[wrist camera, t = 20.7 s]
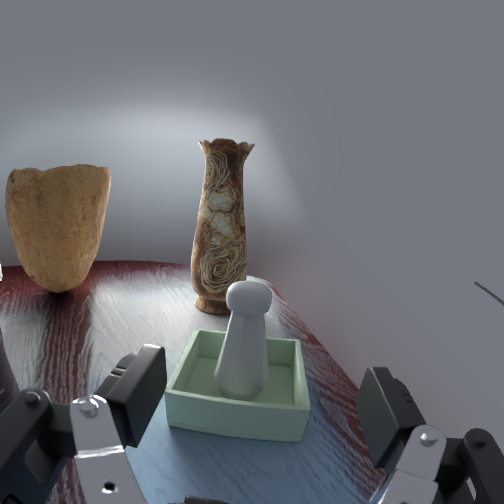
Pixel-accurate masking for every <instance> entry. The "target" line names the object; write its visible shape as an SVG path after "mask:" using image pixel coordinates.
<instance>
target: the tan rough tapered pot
mask: <svg viewBox="0 0 504 504" xmlns="http://www.w3.org/2000/svg"><path fill="white" fill-rule="evenodd" d="M110 183H111V173H110V169H109V168H108V167H96V166H92V165H84V164H83V165H82V164H78V165H73V166H61V167H56V168H52V169H48V170H46V171H40V170H38V169H35V168H25V169H14V170H13V171H12V172H11V173H10V175H9V177H8V181H7V187H6V206H5V207H6V214H7V221H8V226H9V229H10V234H11V238H12V241H13V244H14V247H15V250H16V253H17V256H18V259H19V261H20V263H21V265H22V266H23V268H24V270H25V271H26V273H27V274H28V276H29V277H30V278H31V279H32V280H33V281H34V282H35V283H37V284H38V285H40V286H42V287H43V288H45V289H46V290H49V291H52V292H56V293H62V292H64V291H68V290H71V289H74V288H76V287H78V286H79V285H80V284H81V283H82V282H83V281H84V280H85V278H86V277H87V274H88V272H89V270H90V267H91V265H92V262H93V260H94V258H95V257H96V253H97V251H98V248H99V246H100V241H101V237H102V231H103V226H104V217H105V212H106V206H107V202H108V196H109V189H110Z"/></svg>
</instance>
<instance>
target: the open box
mask: <svg viewBox="0 0 504 504" xmlns="http://www.w3.org/2000/svg"><path fill="white" fill-rule="evenodd" d="M225 335H226V332H223V331H216V330H208V329H202V328H196V329H195V331H194V333H193V335H192V337H191V339H190V341H189V343H188V345H187V347H186V349H185V351H184V353H183V355H182V357H181V359H180V361H179V363H178V365H177V367H176V369H175V371H174V373H173V375H172V377H171V379H170V381H169V383H168V385H167V387H166V389H165V392H164V395H165V405H166V414H167V422H168V425H169V426H174V427H178V428H183V429H188V430H193V431H199V432H205V433H211V434H217V435H224V436H231V437H239V438H248V439H259V440H271V441H289V442H300V441H301V439H302V436H303V433H304V430H305V427H306V424H307V420H308V417H309V414H310V411H311V409H310V401H309V395H308V388H307V382H306V375H305V369H304V362H303V356H302V350H301V344H300V340H299V339H287V338H276V337H266V348H267V362H268V376H269V377H268V381H267V384H266V387H265V388H264V389H263V390H262V391H261V392H260V393H259V394H258V395H257V396H256V397H255V398H254V400H253V401H252V402H248V401H239V400H231V399H227V398H225V397H223V396H222V394H221V392H220V390H219V388H218V386H217V383H216V380H215V375H214V373H215V370H216V366H217V363H218V359H219V356H220V352H221V349H222V345H223V342H224V338H225Z"/></svg>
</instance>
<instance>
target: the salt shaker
mask: <svg viewBox="0 0 504 504" xmlns="http://www.w3.org/2000/svg"><path fill="white" fill-rule="evenodd" d="M271 301H272V292H271V291H270V290H269V289H268V287H267V286H266V285H263V284H261V283H258V282H253V281H238V282H235V283H233V284H232V285H230V287H229V288H228V290H227V294H226V304H227V306H228V308H229V309H230V310H231V311H232V312H231V316H230V320H229V324H228V328H227V331H226V335H225V338H224V342H223V345H222V349H221V352H220V356H219V359H218V363H217V366H216V370H215V373H214V375H215V380H216V383H217V386H218V388H219V390H220V392H221V394H222V396H223V397H225V398H227V399H231V400H239V401H248V402H252V401H253V400H254V398H255V397H256V396H257V395H258V394H259V393H260V392H261V391H262V390H263V389H264V388H265V387H266V384H267V381H268V377H269V376H268V362H267V348H266V334H265V320H264V313H266V312H268V310H269V309H270V305H271Z"/></svg>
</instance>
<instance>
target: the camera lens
mask: <svg viewBox="0 0 504 504" xmlns="http://www.w3.org/2000/svg"><path fill="white" fill-rule="evenodd" d="M19 393H20V389H19V387H18V384H17V382H16V379H15V377H14V375H13V373H12V370H11V367H10V364H9V361H8V358H7V355H6V352H5V349H4V346H3V338H2V333H1V328H0V414H1V413H2V412H3V411H4V409H5V408H6V407H7V406H8V405H9V404H10V403H11V402H12V401H13V399H14V398H15V397H16V396H17V395H18V394H19Z"/></svg>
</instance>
